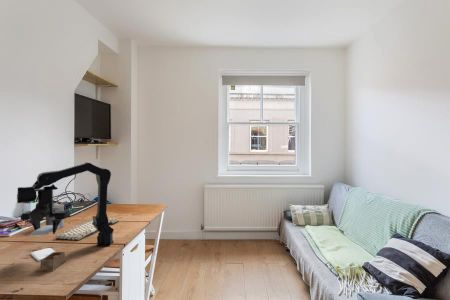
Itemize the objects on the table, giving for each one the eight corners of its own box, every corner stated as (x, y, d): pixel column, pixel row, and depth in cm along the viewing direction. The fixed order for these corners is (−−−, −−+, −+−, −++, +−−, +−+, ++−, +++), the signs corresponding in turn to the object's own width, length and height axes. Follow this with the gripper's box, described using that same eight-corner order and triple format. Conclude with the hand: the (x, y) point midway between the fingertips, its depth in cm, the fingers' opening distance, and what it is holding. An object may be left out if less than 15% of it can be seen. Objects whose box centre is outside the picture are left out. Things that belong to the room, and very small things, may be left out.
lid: (59, 227, 127) (59, 225, 127) (47, 234, 117) (46, 232, 117) (45, 227, 127) (45, 225, 127) (31, 235, 117) (31, 232, 117)
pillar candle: (42, 228, 165) (42, 204, 165) (58, 224, 174) (58, 201, 174) (51, 231, 161) (51, 206, 160) (67, 226, 169) (67, 203, 169)
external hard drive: (50, 250, 133) (59, 257, 124) (30, 255, 126) (38, 263, 118) (50, 247, 133) (59, 253, 124) (30, 252, 126) (38, 259, 118)
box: (64, 261, 118) (64, 251, 118) (53, 271, 110) (53, 260, 109) (53, 262, 118) (53, 252, 118) (40, 271, 109) (40, 260, 109)
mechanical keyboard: (83, 242, 143) (83, 236, 143) (51, 241, 146) (51, 235, 146) (119, 222, 181) (119, 217, 181) (93, 221, 183) (93, 216, 183)
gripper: (11, 204, 113) (11, 240, 113) (57, 203, 114) (57, 239, 115) (28, 199, 124) (29, 232, 124) (70, 198, 126) (70, 231, 126)
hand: (46, 233), depth 122 cm, fingers closed on lid, 7 cm apart
